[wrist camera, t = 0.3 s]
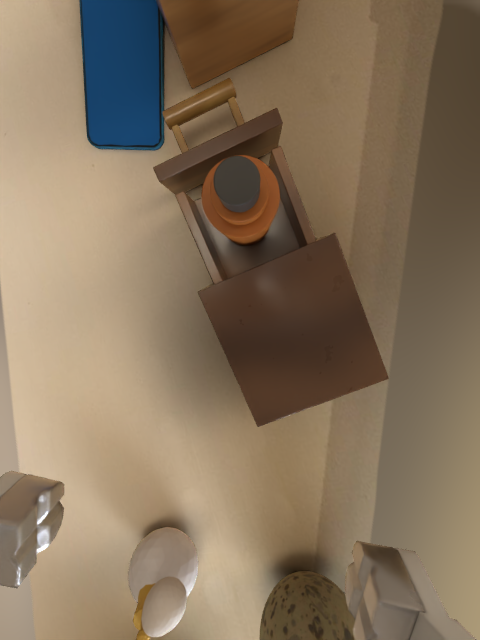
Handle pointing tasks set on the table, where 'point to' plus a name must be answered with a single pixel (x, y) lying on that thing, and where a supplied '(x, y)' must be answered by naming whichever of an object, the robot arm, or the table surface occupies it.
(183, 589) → the perfume bottle
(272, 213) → the lotion bottle
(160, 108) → the smartphone
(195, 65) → the display stand
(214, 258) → the drawer
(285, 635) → the decorative egg
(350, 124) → the table surface
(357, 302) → the cabinet
